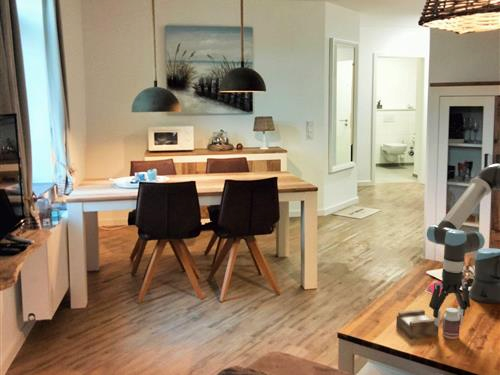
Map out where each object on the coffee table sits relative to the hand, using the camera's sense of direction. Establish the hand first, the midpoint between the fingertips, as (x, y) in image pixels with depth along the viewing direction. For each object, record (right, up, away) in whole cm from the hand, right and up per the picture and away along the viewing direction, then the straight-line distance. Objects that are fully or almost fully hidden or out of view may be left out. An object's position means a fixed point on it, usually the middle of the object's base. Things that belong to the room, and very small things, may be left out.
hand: (448, 324), depth 213 cm
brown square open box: (-11, -4, +6) cm, 13 cm away
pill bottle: (+1, -5, +1) cm, 5 cm away
